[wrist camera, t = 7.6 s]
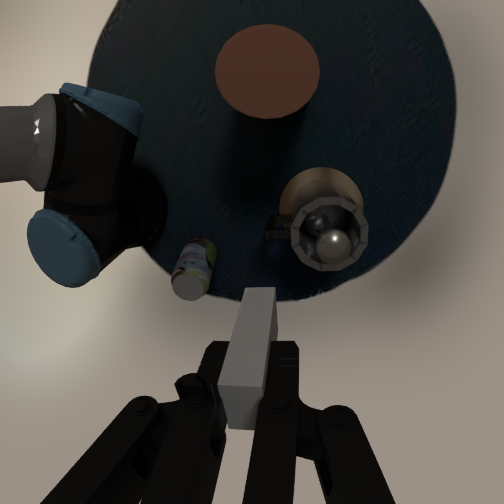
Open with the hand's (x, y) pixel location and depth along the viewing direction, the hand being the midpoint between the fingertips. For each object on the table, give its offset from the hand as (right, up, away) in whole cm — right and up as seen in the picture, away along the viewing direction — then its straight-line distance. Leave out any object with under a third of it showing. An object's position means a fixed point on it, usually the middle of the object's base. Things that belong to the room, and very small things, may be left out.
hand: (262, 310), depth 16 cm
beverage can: (-9, +3, +40) cm, 41 cm away
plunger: (+10, +9, +31) cm, 33 cm away
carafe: (+9, +10, +34) cm, 36 cm away
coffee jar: (+3, +28, +28) cm, 40 cm away
